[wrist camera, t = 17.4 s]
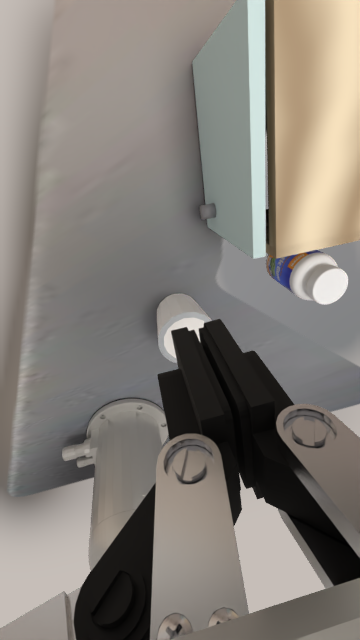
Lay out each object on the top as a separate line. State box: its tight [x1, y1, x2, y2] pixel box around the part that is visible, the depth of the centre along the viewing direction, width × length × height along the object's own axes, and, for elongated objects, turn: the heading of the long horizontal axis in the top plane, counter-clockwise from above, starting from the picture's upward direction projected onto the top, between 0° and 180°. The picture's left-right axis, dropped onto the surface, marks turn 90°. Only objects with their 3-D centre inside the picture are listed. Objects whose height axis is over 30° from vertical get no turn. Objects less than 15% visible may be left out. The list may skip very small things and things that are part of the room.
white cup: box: [157, 293, 212, 363], centre depth 37 cm, size 7×7×7 cm
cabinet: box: [265, 0, 360, 259], centre depth 26 cm, size 14×16×14 cm
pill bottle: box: [266, 250, 348, 304], centre depth 35 cm, size 5×5×10 cm
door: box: [192, 0, 266, 259], centre depth 25 cm, size 2×15×14 cm, turn 8°
